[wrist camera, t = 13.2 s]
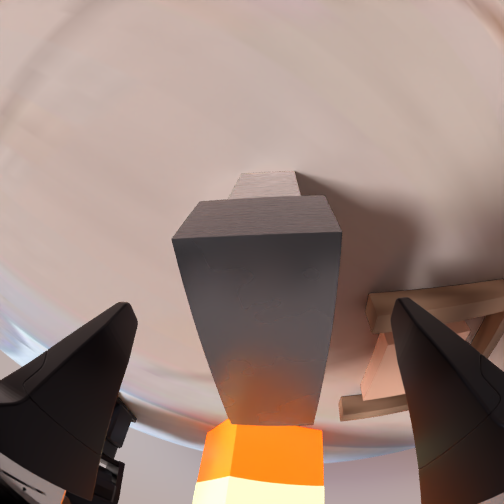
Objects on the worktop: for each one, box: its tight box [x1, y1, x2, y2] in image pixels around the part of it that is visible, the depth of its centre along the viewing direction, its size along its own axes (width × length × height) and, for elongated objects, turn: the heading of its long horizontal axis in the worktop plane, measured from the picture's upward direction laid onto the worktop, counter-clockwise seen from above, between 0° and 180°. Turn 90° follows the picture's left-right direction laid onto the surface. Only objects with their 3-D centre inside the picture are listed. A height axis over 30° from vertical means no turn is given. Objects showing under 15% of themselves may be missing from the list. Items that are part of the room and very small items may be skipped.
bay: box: [339, 279, 504, 421], centre depth 14 cm, size 11×11×2 cm
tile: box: [360, 320, 470, 401], centre depth 14 cm, size 6×6×2 cm
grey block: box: [172, 171, 342, 426], centre depth 9 cm, size 3×8×6 cm, turn 5°
